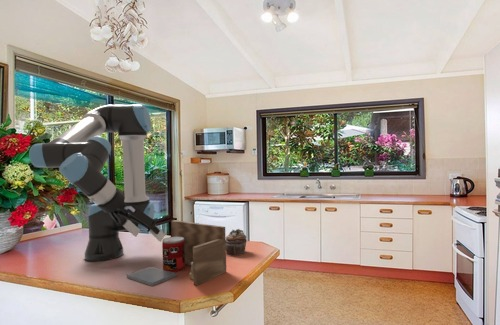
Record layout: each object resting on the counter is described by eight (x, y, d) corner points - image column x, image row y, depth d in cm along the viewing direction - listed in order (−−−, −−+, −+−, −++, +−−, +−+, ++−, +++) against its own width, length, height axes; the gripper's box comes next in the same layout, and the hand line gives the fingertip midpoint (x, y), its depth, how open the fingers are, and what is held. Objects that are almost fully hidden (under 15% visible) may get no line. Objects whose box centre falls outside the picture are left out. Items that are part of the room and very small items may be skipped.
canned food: (158, 270, 114) (157, 240, 114) (175, 263, 121) (174, 235, 121) (173, 273, 110) (172, 242, 110) (189, 267, 116) (188, 237, 116)
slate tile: (126, 277, 107) (126, 274, 107) (150, 269, 115) (150, 266, 115) (152, 286, 99) (151, 282, 99) (176, 276, 107) (176, 273, 107)
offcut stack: (189, 278, 105) (189, 263, 105) (207, 270, 112) (207, 256, 112) (198, 280, 102) (197, 265, 102) (216, 272, 110) (216, 258, 110)
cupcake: (238, 248, 141) (237, 226, 141) (251, 253, 133) (250, 229, 133) (220, 252, 135) (219, 229, 135) (232, 257, 127) (231, 233, 127)
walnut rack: (144, 270, 114) (143, 226, 114) (175, 259, 126) (174, 220, 126) (196, 285, 98) (195, 235, 98) (226, 271, 110) (225, 226, 110)
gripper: (78, 203, 100) (122, 240, 112) (122, 208, 85) (167, 250, 97) (94, 186, 104) (134, 223, 116) (138, 188, 89) (180, 230, 102)
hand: (149, 235), depth 107 cm, fingers open, 13 cm apart
